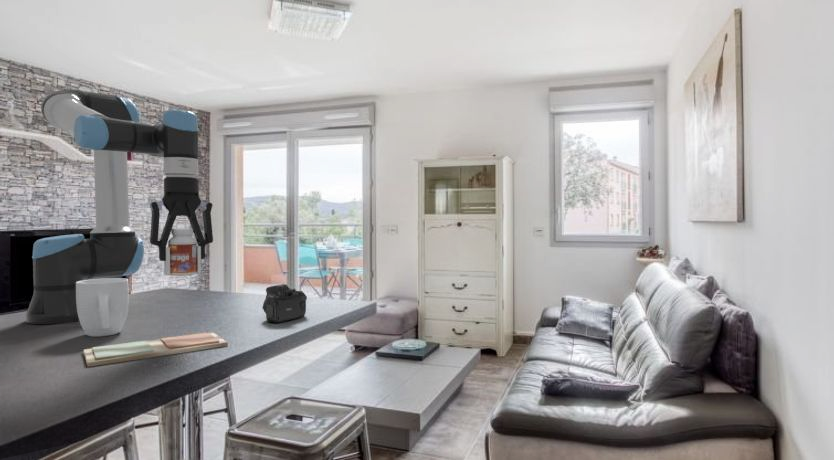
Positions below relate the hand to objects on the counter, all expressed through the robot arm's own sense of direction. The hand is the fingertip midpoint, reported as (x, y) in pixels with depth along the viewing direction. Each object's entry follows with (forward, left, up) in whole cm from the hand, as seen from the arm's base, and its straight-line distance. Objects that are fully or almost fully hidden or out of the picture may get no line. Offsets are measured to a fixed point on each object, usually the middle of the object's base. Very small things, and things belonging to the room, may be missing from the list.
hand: (182, 273), depth 121 cm
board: (+10, -7, -15) cm, 19 cm away
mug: (-13, -15, -15) cm, 25 cm away
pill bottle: (0, 0, -1) cm, 1 cm away
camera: (-4, +27, -15) cm, 31 cm away
